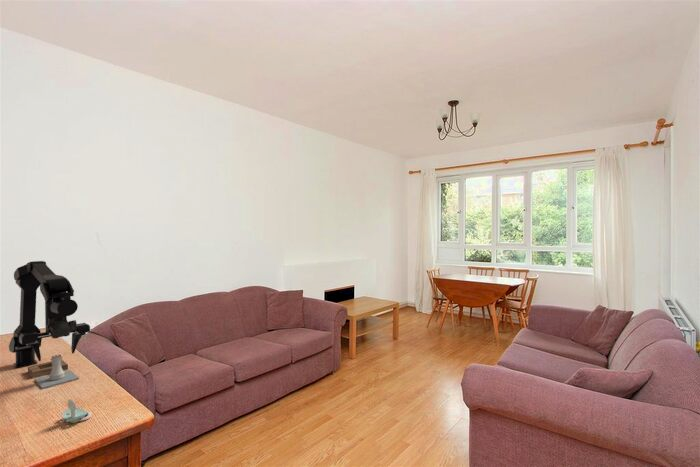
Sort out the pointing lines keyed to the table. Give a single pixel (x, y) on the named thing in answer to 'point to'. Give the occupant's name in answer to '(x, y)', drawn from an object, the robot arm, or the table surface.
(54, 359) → the rook chess piece
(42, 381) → the slate mat
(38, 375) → the socket block
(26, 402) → the table surface
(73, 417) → the pacifier
